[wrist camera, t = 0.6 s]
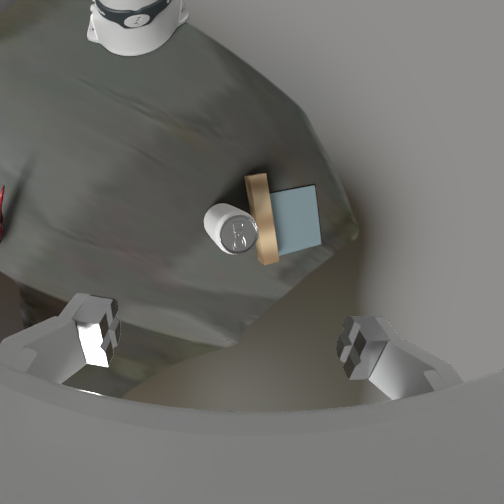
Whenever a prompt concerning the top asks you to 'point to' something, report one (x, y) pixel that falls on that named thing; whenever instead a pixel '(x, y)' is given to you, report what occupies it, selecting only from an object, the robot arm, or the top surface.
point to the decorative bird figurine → (0, 217)
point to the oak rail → (262, 217)
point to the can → (231, 228)
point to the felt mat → (295, 219)
